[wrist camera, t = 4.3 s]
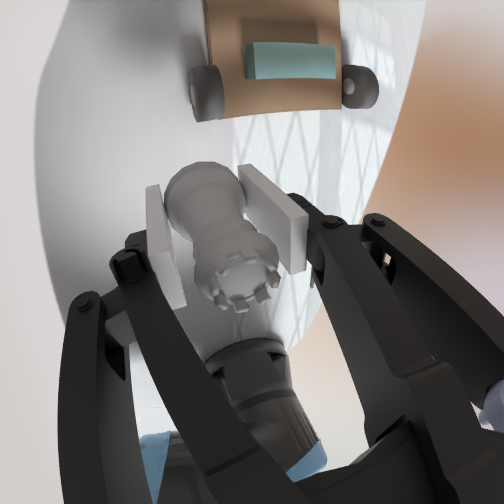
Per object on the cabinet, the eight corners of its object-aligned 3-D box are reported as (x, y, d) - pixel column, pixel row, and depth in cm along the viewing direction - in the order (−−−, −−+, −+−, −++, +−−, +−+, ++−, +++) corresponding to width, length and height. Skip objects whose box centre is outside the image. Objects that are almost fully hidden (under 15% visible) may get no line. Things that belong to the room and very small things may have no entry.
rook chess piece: (147, 188, 14) (152, 281, 8) (217, 143, 14) (279, 201, 8) (189, 243, 17) (223, 345, 11) (251, 204, 17) (317, 288, 11)
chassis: (349, 107, 25) (378, 116, 21) (192, 121, 21) (201, 131, 18) (342, -42, 14) (370, -51, 10) (175, -58, 10) (182, -80, 7)
